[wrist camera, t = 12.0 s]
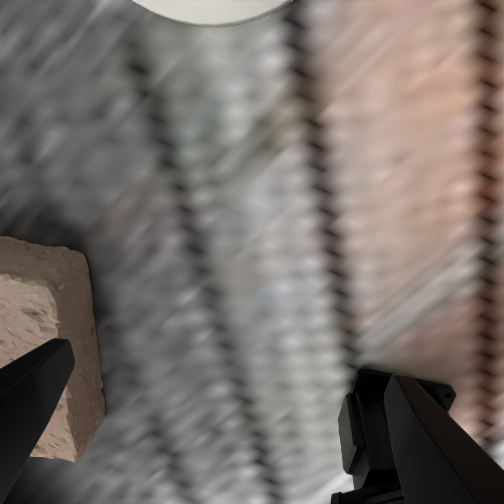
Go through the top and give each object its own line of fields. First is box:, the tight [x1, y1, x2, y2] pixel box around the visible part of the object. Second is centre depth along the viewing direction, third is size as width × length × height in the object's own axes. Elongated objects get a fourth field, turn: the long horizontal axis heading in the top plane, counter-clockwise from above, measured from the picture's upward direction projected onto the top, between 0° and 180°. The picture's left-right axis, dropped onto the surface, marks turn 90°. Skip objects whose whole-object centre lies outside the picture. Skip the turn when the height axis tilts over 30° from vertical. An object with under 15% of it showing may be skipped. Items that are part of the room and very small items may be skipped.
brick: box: [0, 236, 105, 463], centre depth 25 cm, size 17×8×5 cm, turn 174°
